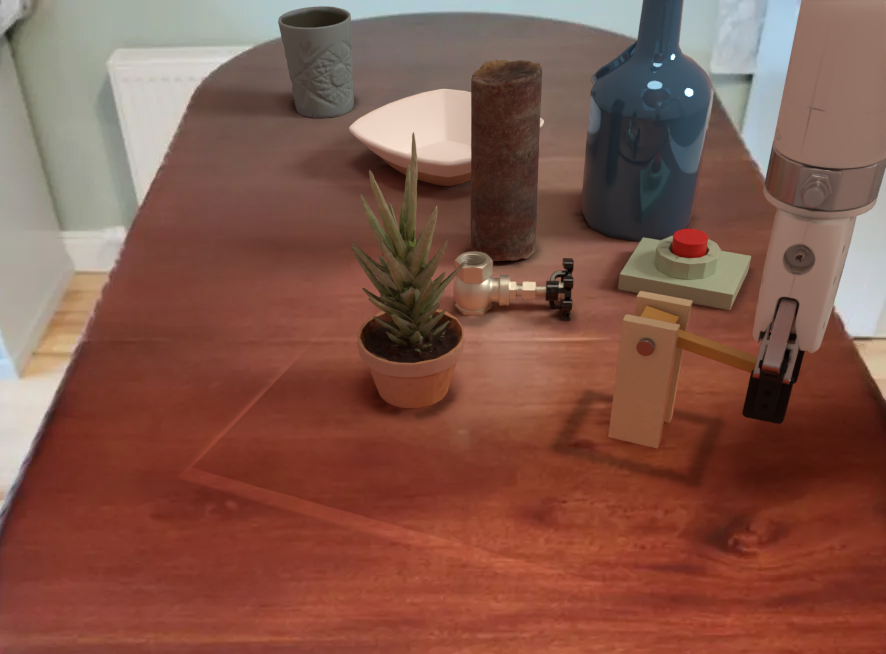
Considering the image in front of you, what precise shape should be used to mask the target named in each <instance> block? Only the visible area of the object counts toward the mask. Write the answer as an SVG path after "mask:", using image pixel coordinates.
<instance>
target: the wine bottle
mask: <svg viewBox="0 0 886 654" xmlns="http://www.w3.org/2000/svg"><path fill="white" fill-rule="evenodd" d="M684 2H685V0H642V4H641V11H640V18H639V24H638V25H639V26H638V32H637V33H638V34H637V39H636V40H635V41H634V42H633V43H632V44H630V45H629V46H627V48H625V49H624V50H623V51H621V52H620V53H619V54H618V55H617V56H616V57H615V58H613V59H612V60H610V61H609V62H607V63H606V64H604V65H602V66H601V67H600V68H599V69H597V70H596V71H595V72H594V73H593V74H592V75H591V77H590V82H591V83H592V87H591V89H590V94H589V104H588V106H589V107H588V118H587V128H586V129H587V130H586V141H585V142H586V143H585V151H584V152H585V155H584V164H583V178H582V187H581V188H582V189H581V201H580V202H581V203H580V210H581V212H582V215H583V218H584V219H585V221H586V222H587V225H588V226H589V228H591V229H592V230H595V231H596V232H599V233H600V234H603V235H605V236H607V237H608V238H614V239H619V240H626V241H633V242H640V241H641V240H642V238H643V237H644V238H650V239H656V240H663V239H665V238H668V237H670V236H673V235H674V233H675V232H676V231H678V230H682V229H687V227H688V225H689V223H690V221H691V220H692V217H693V215H694V214H695V210H696V206H697V205H696V204H697V199H698V192H699V188H700V187H699V185H700V181H701V174H702V167H703V161H704V155H705V149H706V144H707V138H708V133H709V127H710V126H709V125H710V120H711V116H712V115H711V114H712V108H713V102H714V94H715V92H714V87H713V83H712V79H711V78H710V76H709V74H708V73H707V71H705V70H704V68H702V66H701V65H700V64H699V63H698V62H697V61H695V60H694V59H693V58H692V57H691V56H689V55H688V54H687V55H686V54H685V53H684V52H683V51H682V48H681V47H680V39H681V32H682V31H681V30H682V22H683V11H684Z"/></svg>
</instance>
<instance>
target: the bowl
mask: <svg viewBox="0 0 886 654" xmlns="http://www.w3.org/2000/svg"><path fill="white" fill-rule="evenodd" d="M544 124H545V120H544V119H543V118H542V117H540V129H541V128H542V127H543V126H544ZM348 131H349V132H350V134H352V136H354V137H355V138H356V139H357V140H358V141H360V143H362V144H363V145H364V146H365V147H367V148H368V149H369V150H370V151H371V152H373V153H374V154H375V155H377V156H378V157H379V158H380V159H381V160H383V161H384V162H385V163H386V164H388V166H390V167H391V168H392V169H394V170H396V171H398V172H399V173H400V174H403V175H404V176H406V174H407V168H408V166H409V167H410V170H411V155H412V134H413V132H414V135H415V142H416V153H417V171H418V174H417V181H421V182H423V183H424V182H425V183H428V184H432V185H437V186H443V187H453V186H458V185H463V184H464V183H468V182H471V91H467V90H460V89H451V88H439V89H434V90H428V91H423V92H419V93H415V94H413V95H409V96H407V97H404V98H400V99H398V100H394V101H392V102H388V103H386V104H384V105H382V106H380V107H378V108H376V109H373V110H372V111H370V112H367V113H365V114H364V115H362V116H361V117H359V118H358V119H356V120H355V121H354V122H353V123H352V124H350V126H349V127H348Z"/></svg>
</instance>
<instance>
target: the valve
mask: <svg viewBox="0 0 886 654" xmlns="http://www.w3.org/2000/svg"><path fill="white" fill-rule="evenodd" d="M465 261H466V262H465ZM463 262H465V264H464V266H463V267H462V269H461V270H460V271H459V272H458V273H457V275H456V276H455V279H454V281H453V285H452V295H453V298H454V301H455V304H454V307H455V308H456V309H457V310H458V311H459V312H460V313H461V314H462V316H483V315H484V314H485V313H487V312H488V311H489V310H491V308H493V304H492V303H498V305H499V306H510V300H516V299H517V298H518V297H521V299H522V300H536V297H544V298H545V299H544V300H545V302H548V306H549V307H550V309H551V310H561V312H562V314H563V315H564V316H562V315H561V316H560V321H561V322H564V321H565V322H570V321H571V317H572V314H571V313H572V311H573V299H572V291H573V289H574V282H575V279H574V276H573V272H574V265H575V261H574V259H573V258H572V257H563V258H562V263H561V266H562V267H563V269H564V270H562V269H561V270H556V271H554V272H552V274H551V275H550V277H549V280H545V285H537V282H536V281H522V284H518V283H517V281H511V275H510V274H499V277H497V278H496V277H492V276H494V275H493V271H494V270H493V269H494V261H493V260H492V259H491V258H490V257H489V256H488V255H487V254H485V253H482V252H476V251H472V250H471V251H467V252H463V253H461V254H459V255H458V256H456V258H455V259H454V271H455V270H456V269H457V268H458V267H459V266H460V265H461V263H463ZM558 278H560V280H557V279H558ZM555 302H561V304H556V303H555Z"/></svg>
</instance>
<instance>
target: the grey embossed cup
mask: <svg viewBox="0 0 886 654" xmlns="http://www.w3.org/2000/svg"><path fill="white" fill-rule="evenodd" d="M277 24H278V28H279V33H280V37H281V42H282V45H283V49H284V57H285V59H286V65H287V69H288V75H289V79H290V82H291V84H292V85H291V91H292V96H293V101H294V100H295V101H294V107H295V110H296V111H297V113H298V114H300V116H301V115H302V116H303V117H308V118H314V119H328V118H334V117H335V118H336V117H340V116H343V115H346V114H347V113H349V112H351V111H352V110H353V109H354V105H355V94H354V79H353V78H354V69H353V67H354V64H353V63H354V62H353V61H354V60H353V56H352V48H353V47H352V15H351V12H349V11H348V10H346V9H344V8H340V7H336V6H329V5H328V6H324V5H323V6H322V5H321V6H308V7H307V6H306V7H301V8H296V9H292V10H289V11H286V12H285V13H283V14H281V15H280V16H279V17H278V20H277ZM296 102H297V103H296Z"/></svg>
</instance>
